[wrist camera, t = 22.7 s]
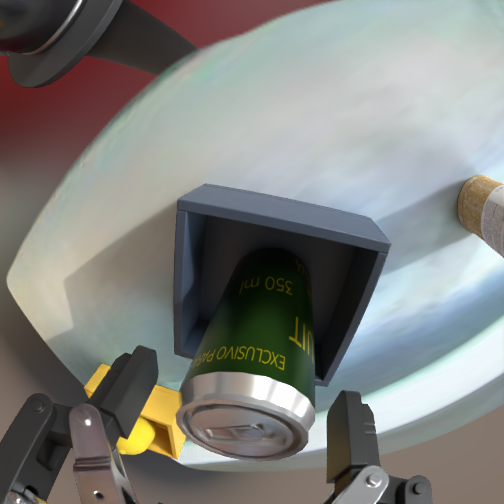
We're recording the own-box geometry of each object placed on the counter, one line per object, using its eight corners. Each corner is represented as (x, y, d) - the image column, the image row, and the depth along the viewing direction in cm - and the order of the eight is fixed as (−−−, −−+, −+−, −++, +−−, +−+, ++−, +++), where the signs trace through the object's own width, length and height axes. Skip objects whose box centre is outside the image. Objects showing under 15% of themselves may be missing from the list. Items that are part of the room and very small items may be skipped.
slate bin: (204, 183, 18) (177, 198, 14) (371, 218, 17) (392, 243, 13) (193, 317, 23) (174, 354, 18) (324, 345, 22) (327, 387, 18)
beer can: (248, 316, 21) (206, 460, 10) (223, 253, 19) (142, 392, 8) (318, 302, 19) (324, 459, 9) (300, 234, 18) (299, 387, 7)
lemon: (157, 399, 28) (132, 451, 21) (168, 422, 30) (148, 469, 23) (120, 388, 29) (92, 434, 22) (133, 412, 31) (111, 454, 24)
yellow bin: (102, 362, 28) (83, 387, 24) (185, 393, 28) (171, 425, 23) (118, 408, 33) (105, 430, 29) (186, 434, 32) (177, 459, 28)
